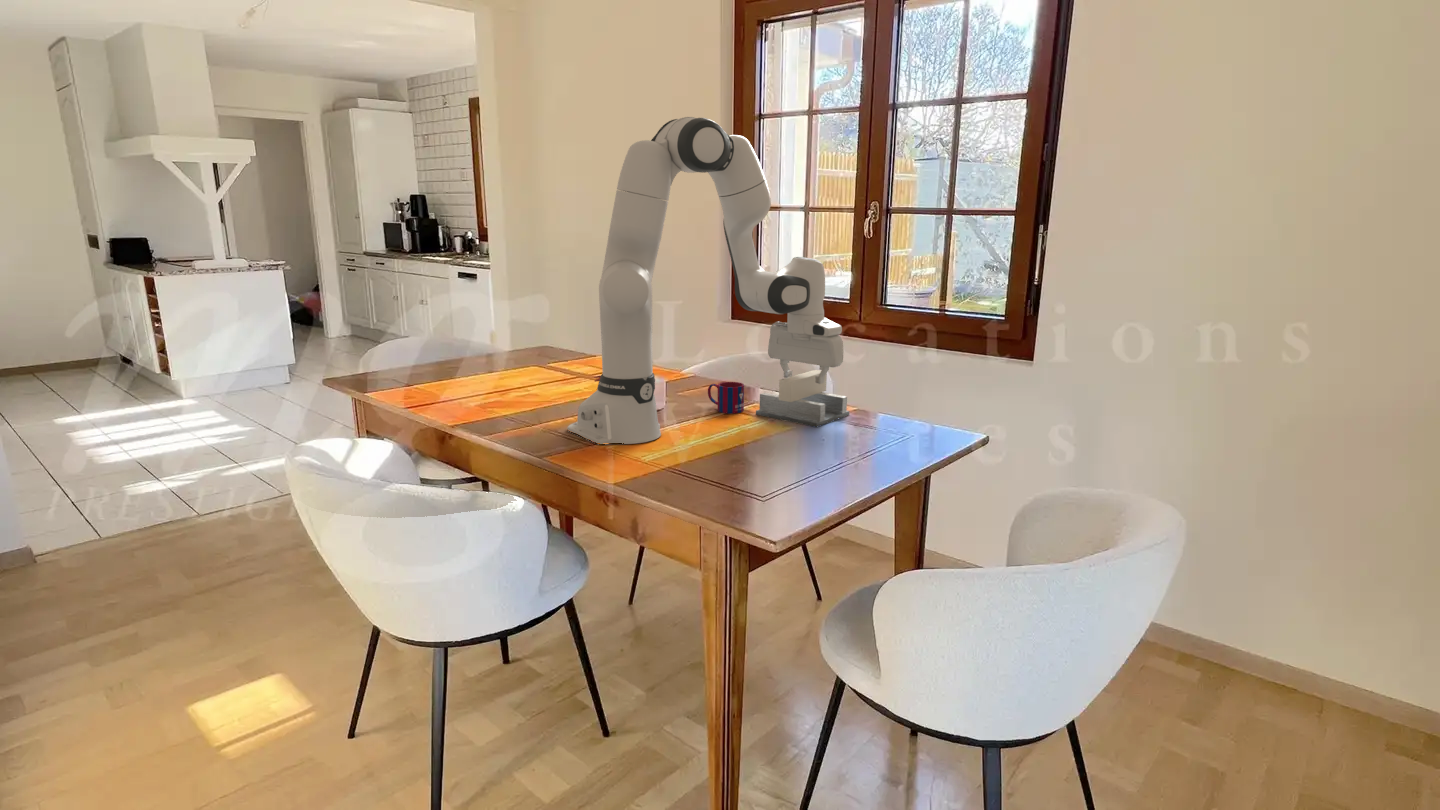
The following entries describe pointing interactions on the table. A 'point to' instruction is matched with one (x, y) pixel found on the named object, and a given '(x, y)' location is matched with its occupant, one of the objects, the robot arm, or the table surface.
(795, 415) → the grey channel stand
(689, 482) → the table surface
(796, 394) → the clay strip
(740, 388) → the mug
